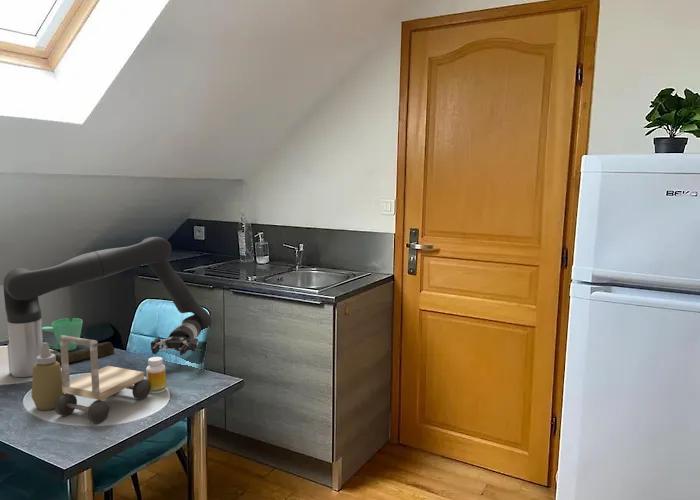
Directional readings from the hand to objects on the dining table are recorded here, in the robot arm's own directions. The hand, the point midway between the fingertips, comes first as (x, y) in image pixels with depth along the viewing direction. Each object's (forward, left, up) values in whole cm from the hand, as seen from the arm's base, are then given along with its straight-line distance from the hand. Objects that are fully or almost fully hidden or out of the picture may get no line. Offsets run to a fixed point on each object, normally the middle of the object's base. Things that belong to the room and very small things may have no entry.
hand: (167, 351), depth 176 cm
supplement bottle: (+4, -10, -8) cm, 14 cm away
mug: (-50, +5, -8) cm, 51 cm away
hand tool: (-36, +2, -9) cm, 37 cm away
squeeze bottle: (-15, -31, -8) cm, 35 cm away
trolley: (-1, -25, -8) cm, 26 cm away
